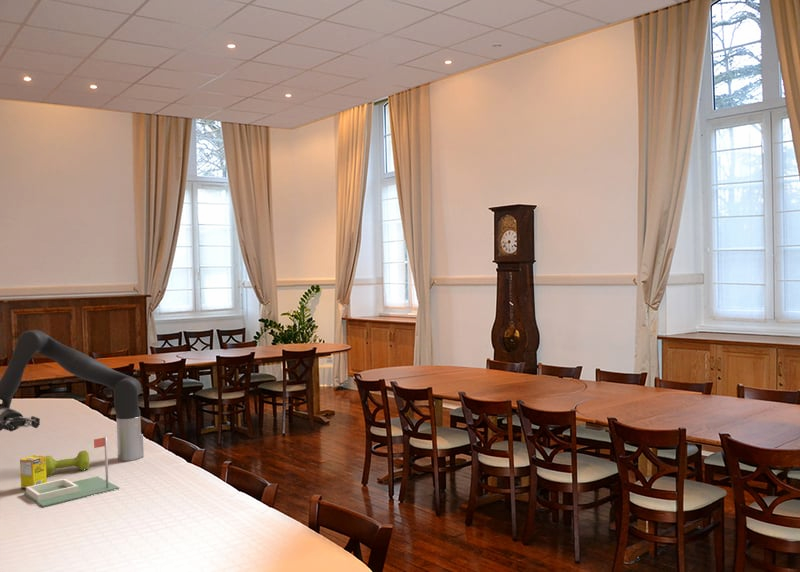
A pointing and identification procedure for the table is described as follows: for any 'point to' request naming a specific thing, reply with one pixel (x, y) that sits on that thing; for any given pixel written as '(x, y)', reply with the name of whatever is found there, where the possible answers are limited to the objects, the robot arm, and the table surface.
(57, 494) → the cup
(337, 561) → the table surface
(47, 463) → the dumbbell
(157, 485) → the table surface
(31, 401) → the table surface
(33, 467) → the supplement box
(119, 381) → the robot arm
